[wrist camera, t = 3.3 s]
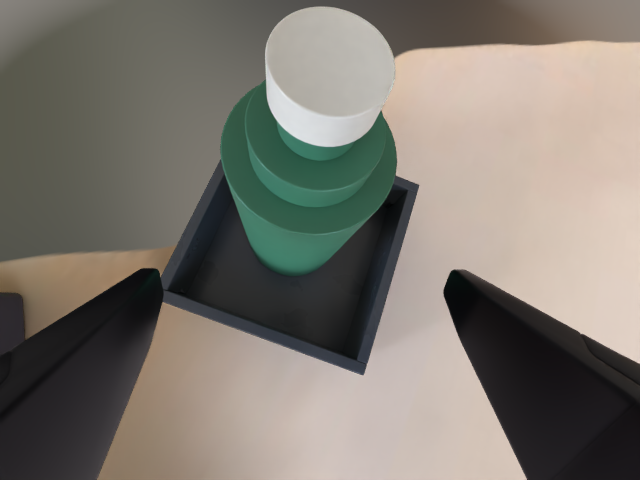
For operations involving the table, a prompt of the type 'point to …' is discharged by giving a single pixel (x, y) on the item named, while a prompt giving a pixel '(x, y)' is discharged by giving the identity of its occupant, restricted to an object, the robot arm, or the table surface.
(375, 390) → the table surface
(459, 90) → the table surface
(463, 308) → the robot arm
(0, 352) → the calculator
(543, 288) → the table surface
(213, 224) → the tray
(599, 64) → the table surface
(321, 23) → the bottle
